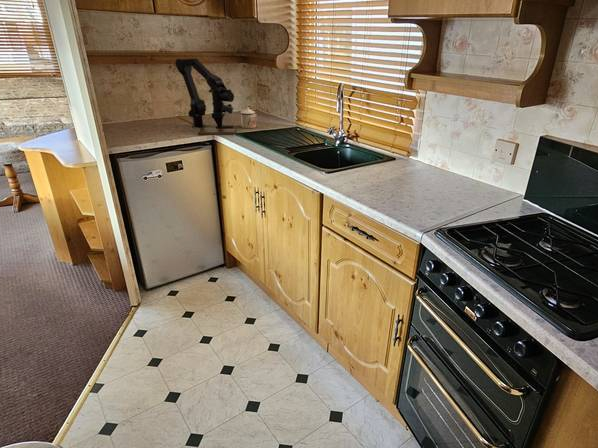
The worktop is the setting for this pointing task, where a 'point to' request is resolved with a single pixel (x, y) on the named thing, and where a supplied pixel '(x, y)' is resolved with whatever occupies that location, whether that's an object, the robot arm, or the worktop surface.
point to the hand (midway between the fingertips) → (220, 127)
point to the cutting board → (217, 132)
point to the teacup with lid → (248, 118)
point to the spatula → (221, 127)
